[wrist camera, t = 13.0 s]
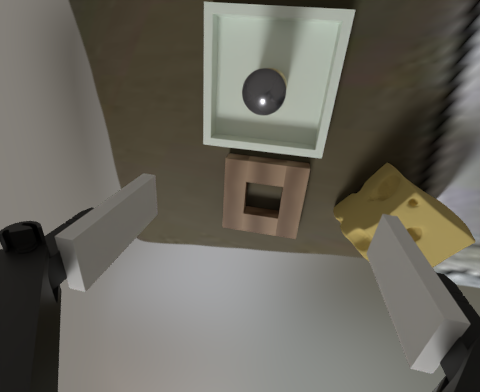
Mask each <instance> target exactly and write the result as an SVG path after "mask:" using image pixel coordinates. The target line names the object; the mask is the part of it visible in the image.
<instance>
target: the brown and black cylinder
mask: <svg viewBox="0 0 480 392" xmlns="http://www.w3.org/2000/svg"><path fill="white" fill-rule="evenodd" d="M286 88H287V81H286V77H285V75H284V74H283V73H282V72H281V71H280V70H278V69H275V68H262V69H258V70H255V71H254V72H252V73H251V74H250V75H249V76H248V77H247V78H246V80H245V82H244V84H243V88H242V97H243V101H244V103H245V105H246V107H247V108H248V109H249V110H250V111H251V112H253V113H255V114H257V115H263V116H264V115H270V114H272V113H274V112H276V111H277V110H278V109H279V108H280V107H281V106H282V104H283V102H284V100H285V97H286Z"/></svg>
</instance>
